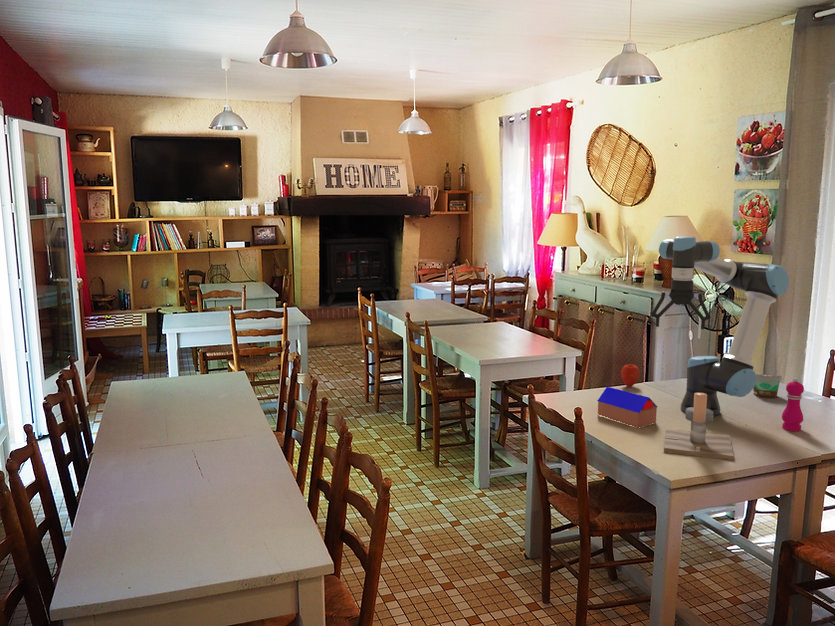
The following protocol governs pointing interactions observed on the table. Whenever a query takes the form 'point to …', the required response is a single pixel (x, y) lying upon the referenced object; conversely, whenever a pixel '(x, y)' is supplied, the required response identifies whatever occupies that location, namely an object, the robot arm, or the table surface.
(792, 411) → the pepper mill
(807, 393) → the table surface
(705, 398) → the crank handle
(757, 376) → the food container
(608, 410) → the house
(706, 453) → the post base
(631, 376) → the apple
